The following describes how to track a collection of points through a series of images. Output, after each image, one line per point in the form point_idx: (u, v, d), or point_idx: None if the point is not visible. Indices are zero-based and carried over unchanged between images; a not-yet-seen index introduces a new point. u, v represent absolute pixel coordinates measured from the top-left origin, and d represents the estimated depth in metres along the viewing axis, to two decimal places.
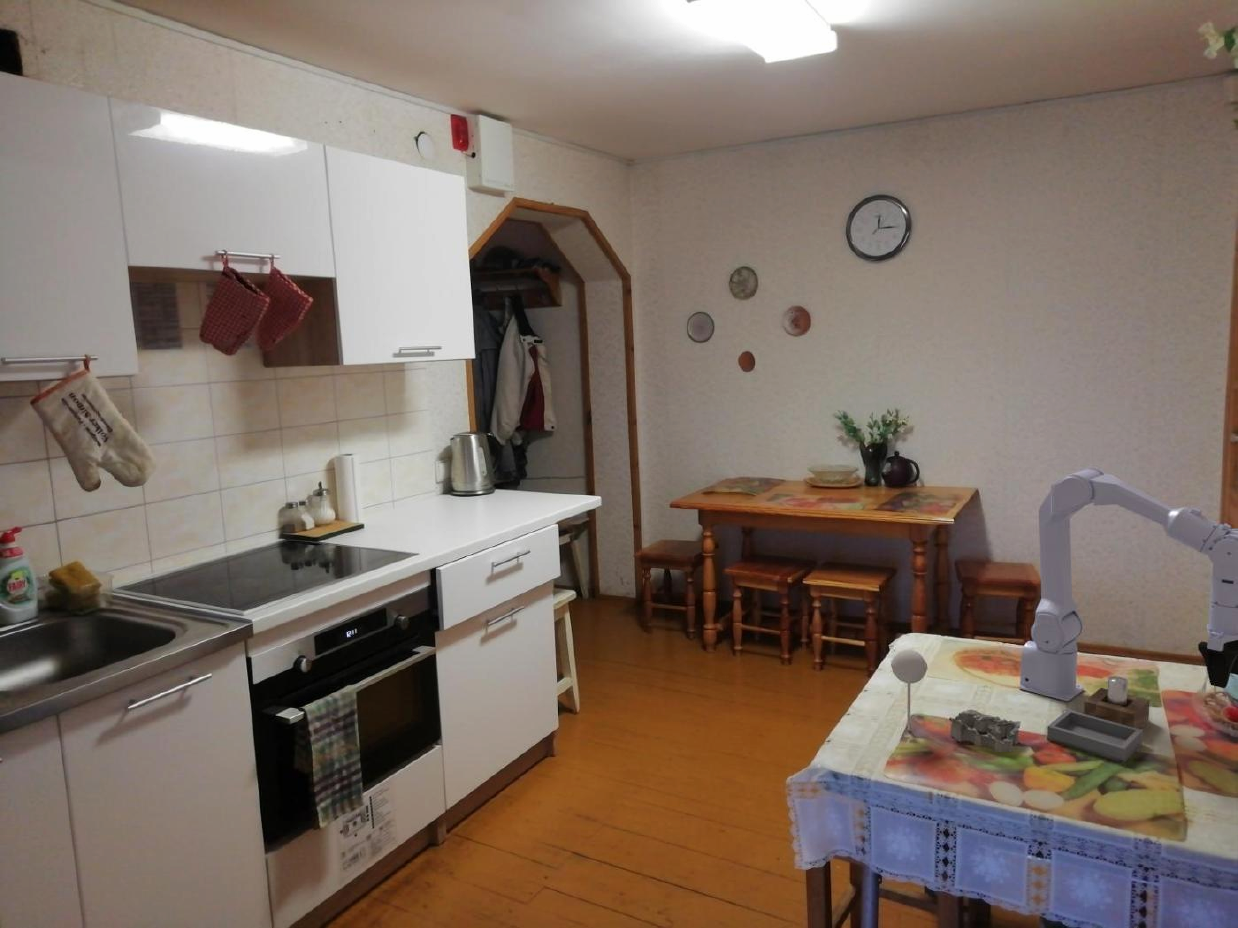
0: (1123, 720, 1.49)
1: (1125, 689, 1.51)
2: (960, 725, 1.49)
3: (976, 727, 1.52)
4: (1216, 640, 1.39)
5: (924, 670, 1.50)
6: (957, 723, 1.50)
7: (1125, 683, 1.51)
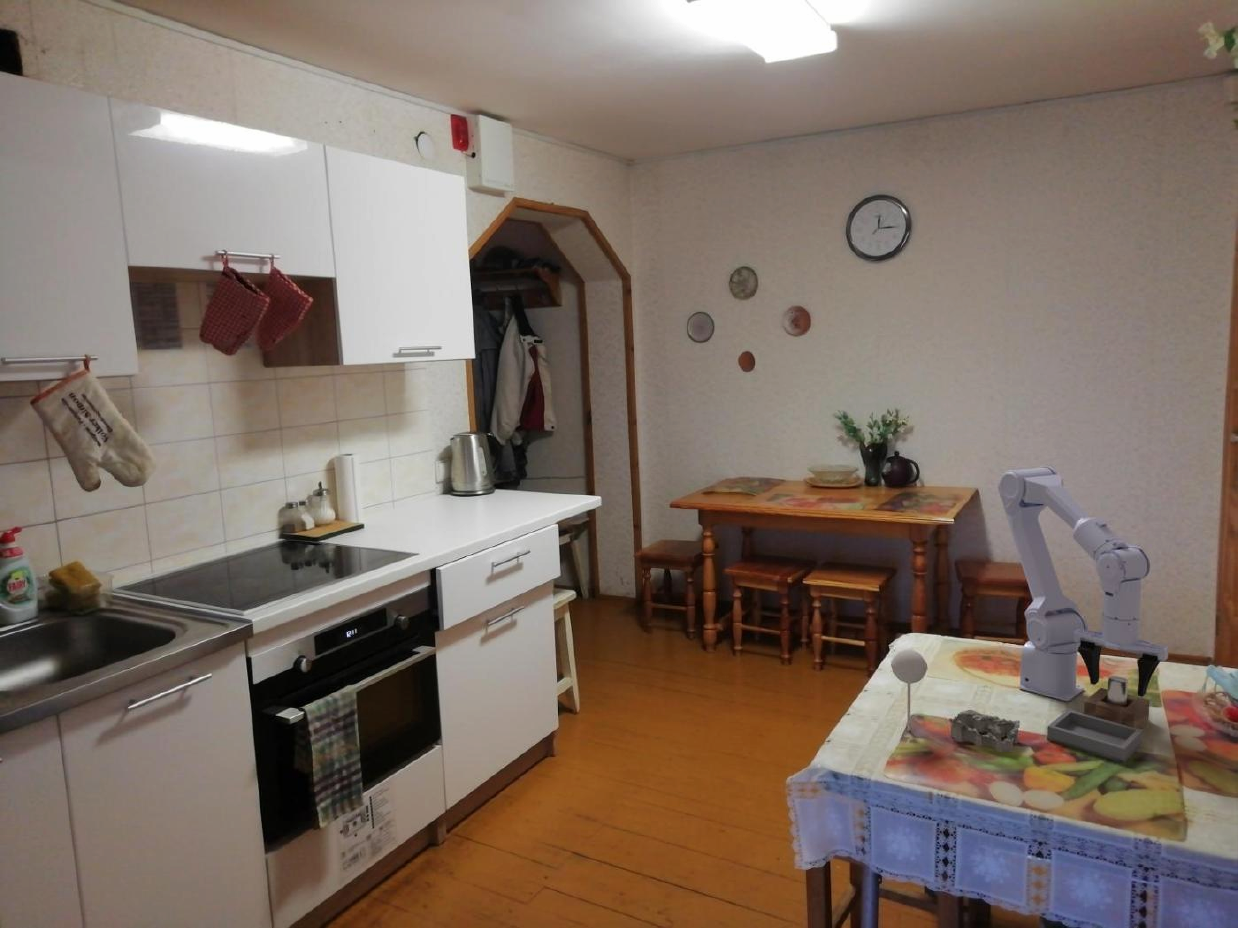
0: (1123, 720, 1.49)
1: (1125, 689, 1.51)
2: (960, 726, 1.49)
3: (975, 727, 1.52)
4: None
5: (924, 670, 1.50)
6: (957, 724, 1.49)
7: (1125, 683, 1.51)
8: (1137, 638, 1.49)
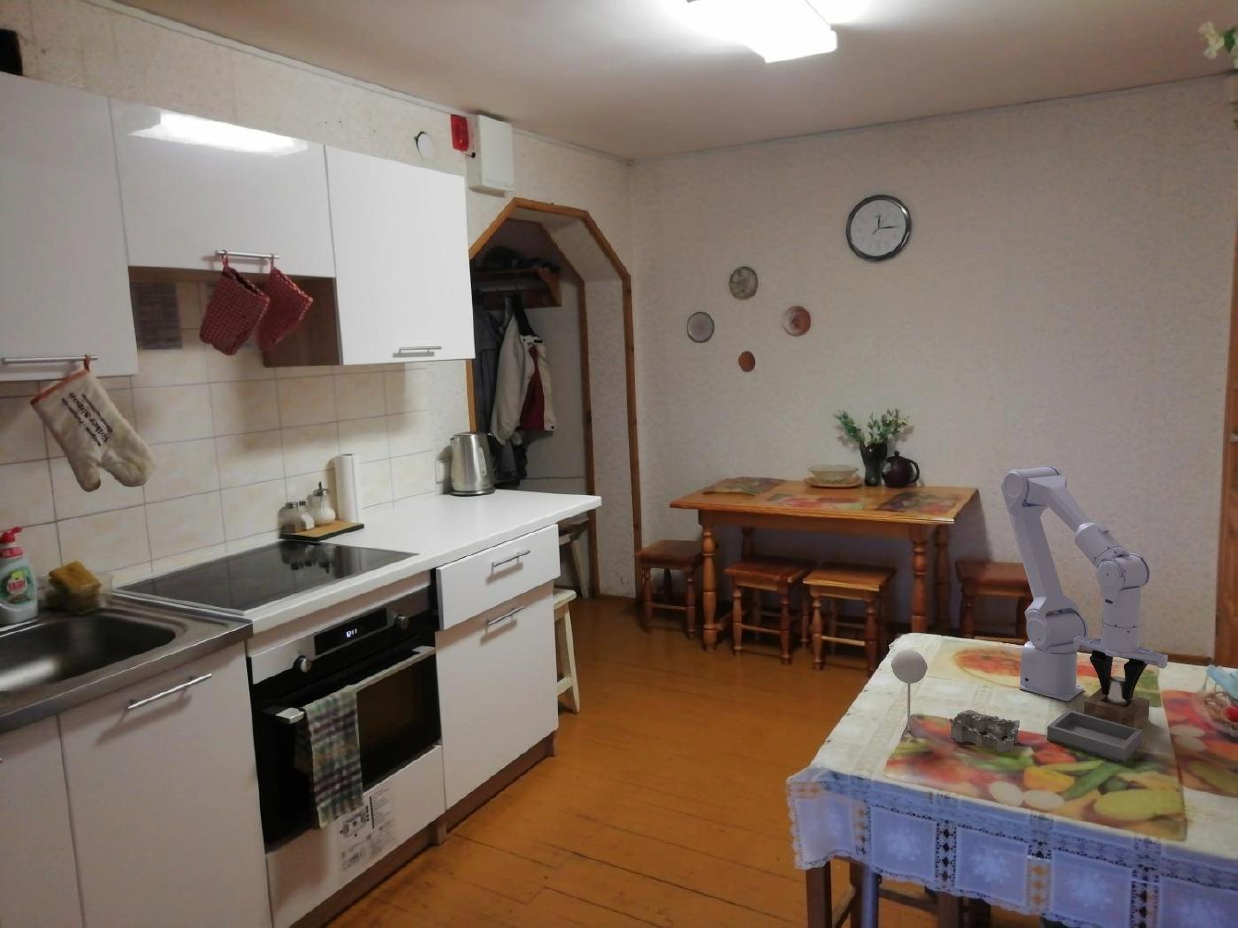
0: (1123, 720, 1.49)
1: None
2: (961, 726, 1.49)
3: (975, 727, 1.52)
4: None
5: (924, 670, 1.50)
6: (957, 724, 1.49)
7: None
8: (1137, 645, 1.49)
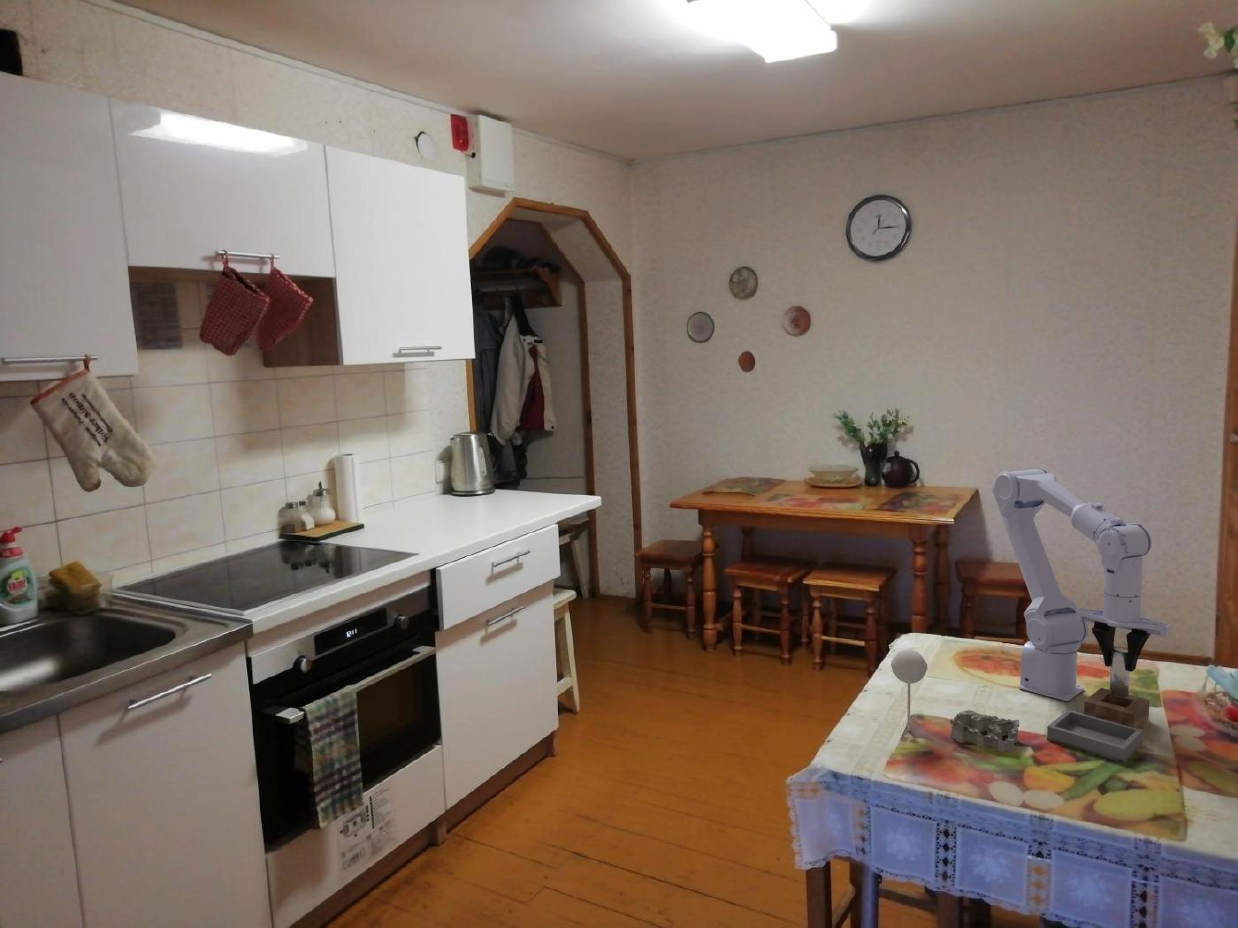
0: (1123, 720, 1.49)
1: None
2: (961, 727, 1.49)
3: (974, 727, 1.52)
4: None
5: (924, 670, 1.50)
6: (958, 725, 1.49)
7: None
8: (1139, 615, 1.48)
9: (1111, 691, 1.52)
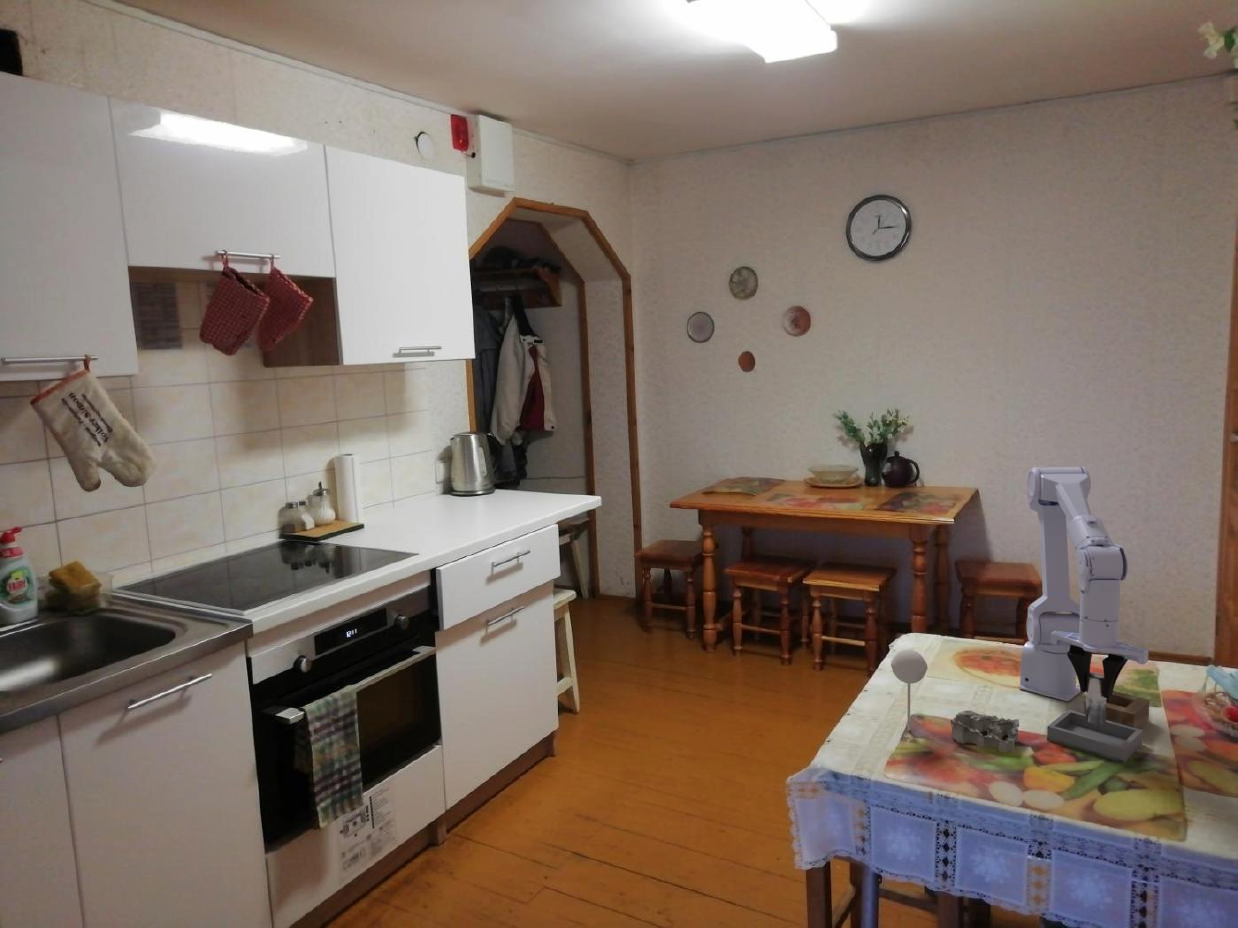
0: (1123, 720, 1.49)
1: None
2: (962, 727, 1.48)
3: (974, 727, 1.52)
4: None
5: (924, 670, 1.50)
6: (959, 725, 1.49)
7: None
8: (1116, 640, 1.42)
9: (1087, 717, 1.46)
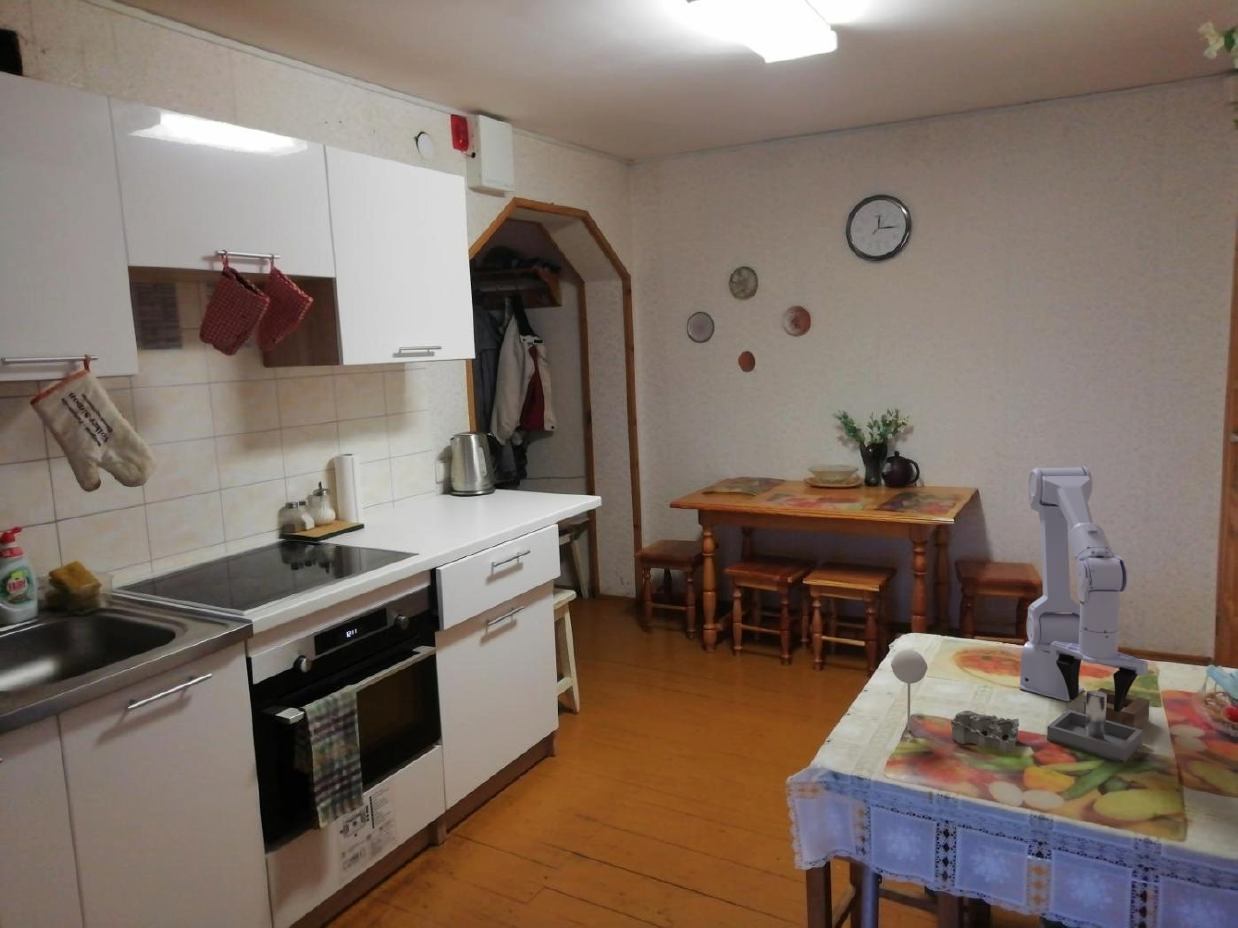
0: (1123, 720, 1.49)
1: (1104, 704, 1.44)
2: (962, 727, 1.48)
3: (973, 728, 1.52)
4: None
5: (924, 670, 1.50)
6: (959, 726, 1.49)
7: (1104, 698, 1.44)
8: (1115, 651, 1.42)
9: (1086, 735, 1.46)
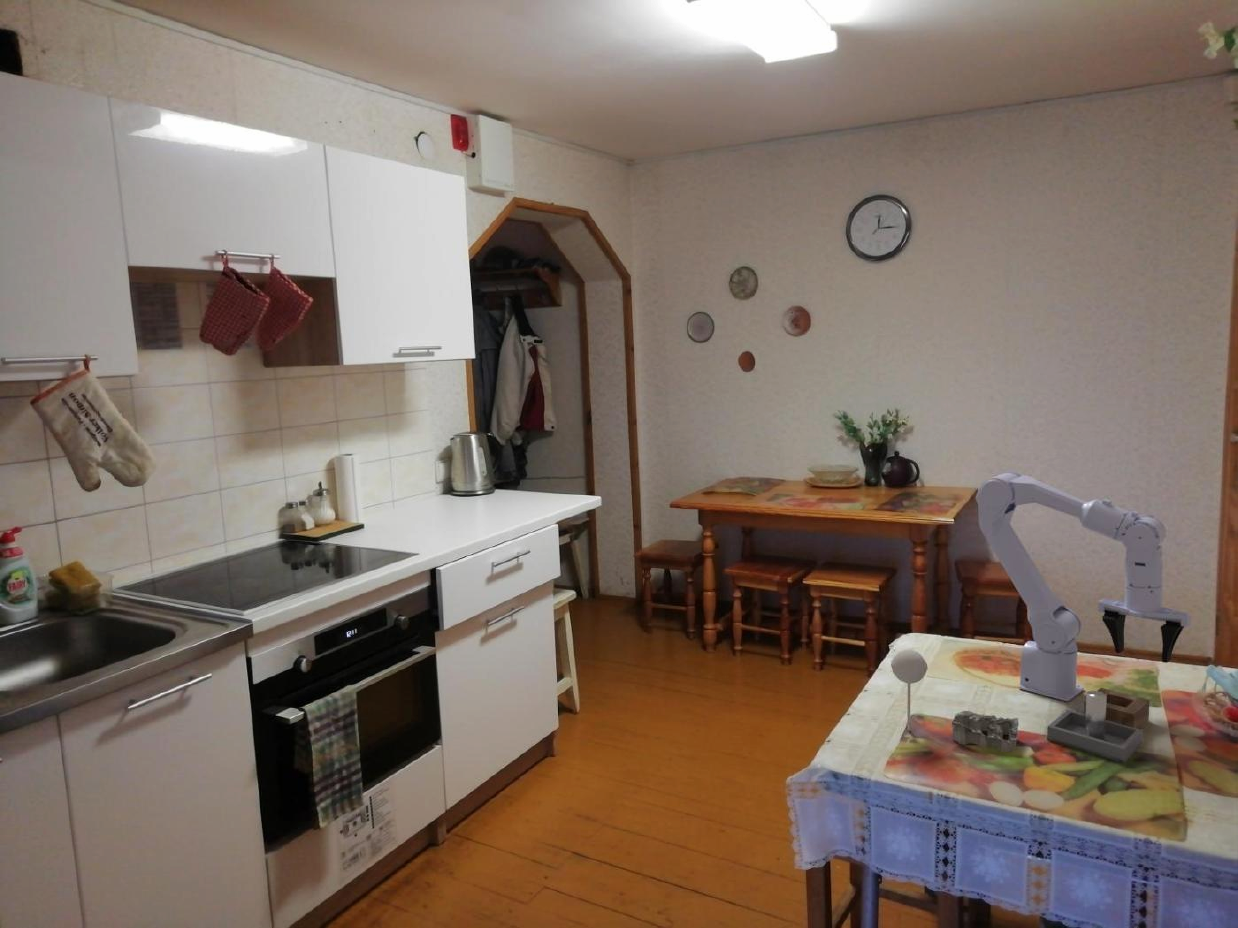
0: (1123, 720, 1.49)
1: (1104, 705, 1.44)
2: (963, 728, 1.48)
3: (973, 728, 1.52)
4: None
5: (924, 670, 1.50)
6: (960, 726, 1.48)
7: (1104, 698, 1.44)
8: (1160, 605, 1.52)
9: None
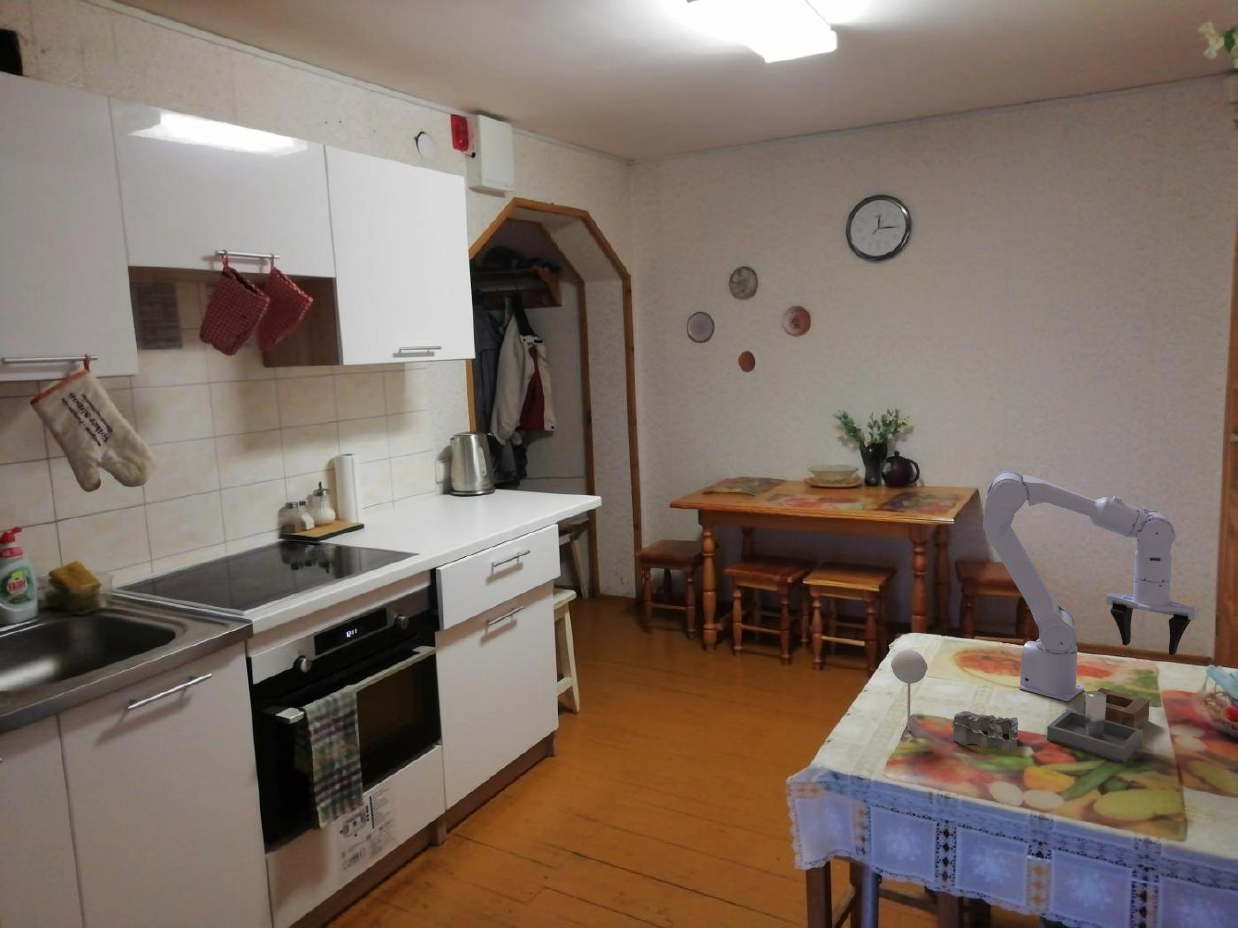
0: (1123, 720, 1.49)
1: (1103, 705, 1.44)
2: (964, 729, 1.48)
3: (972, 728, 1.52)
4: None
5: (924, 670, 1.50)
6: (961, 727, 1.48)
7: (1103, 698, 1.44)
8: (1168, 599, 1.56)
9: None
